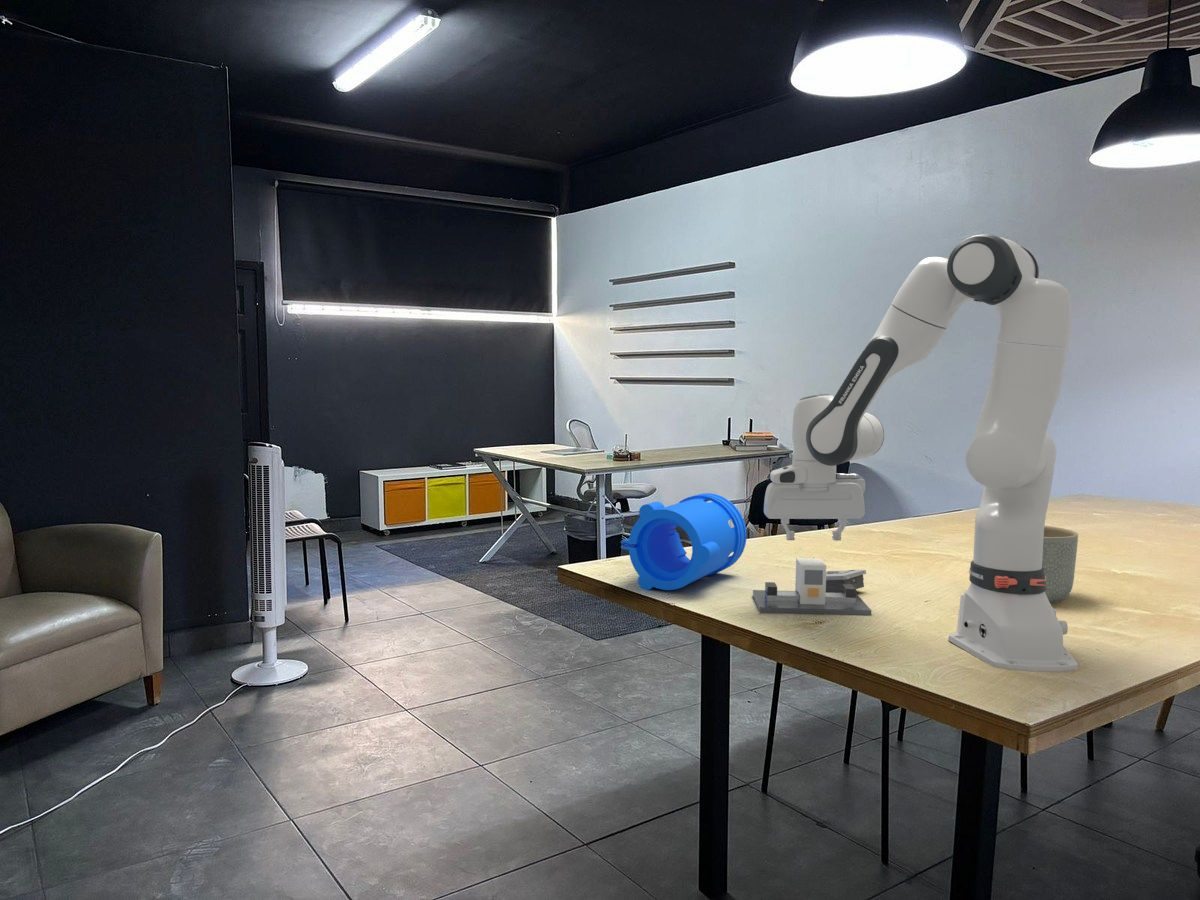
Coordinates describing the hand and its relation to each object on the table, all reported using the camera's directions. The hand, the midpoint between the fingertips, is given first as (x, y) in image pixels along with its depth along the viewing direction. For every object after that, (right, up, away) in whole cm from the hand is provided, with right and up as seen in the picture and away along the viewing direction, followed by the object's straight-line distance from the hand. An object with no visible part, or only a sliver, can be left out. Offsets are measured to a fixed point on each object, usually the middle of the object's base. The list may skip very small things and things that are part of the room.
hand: (813, 540), depth 178 cm
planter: (+49, -14, +9) cm, 52 cm away
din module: (0, -13, +1) cm, 13 cm away
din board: (-1, -14, +2) cm, 14 cm away
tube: (-24, -12, +23) cm, 35 cm away
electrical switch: (+12, -13, +16) cm, 24 cm away
